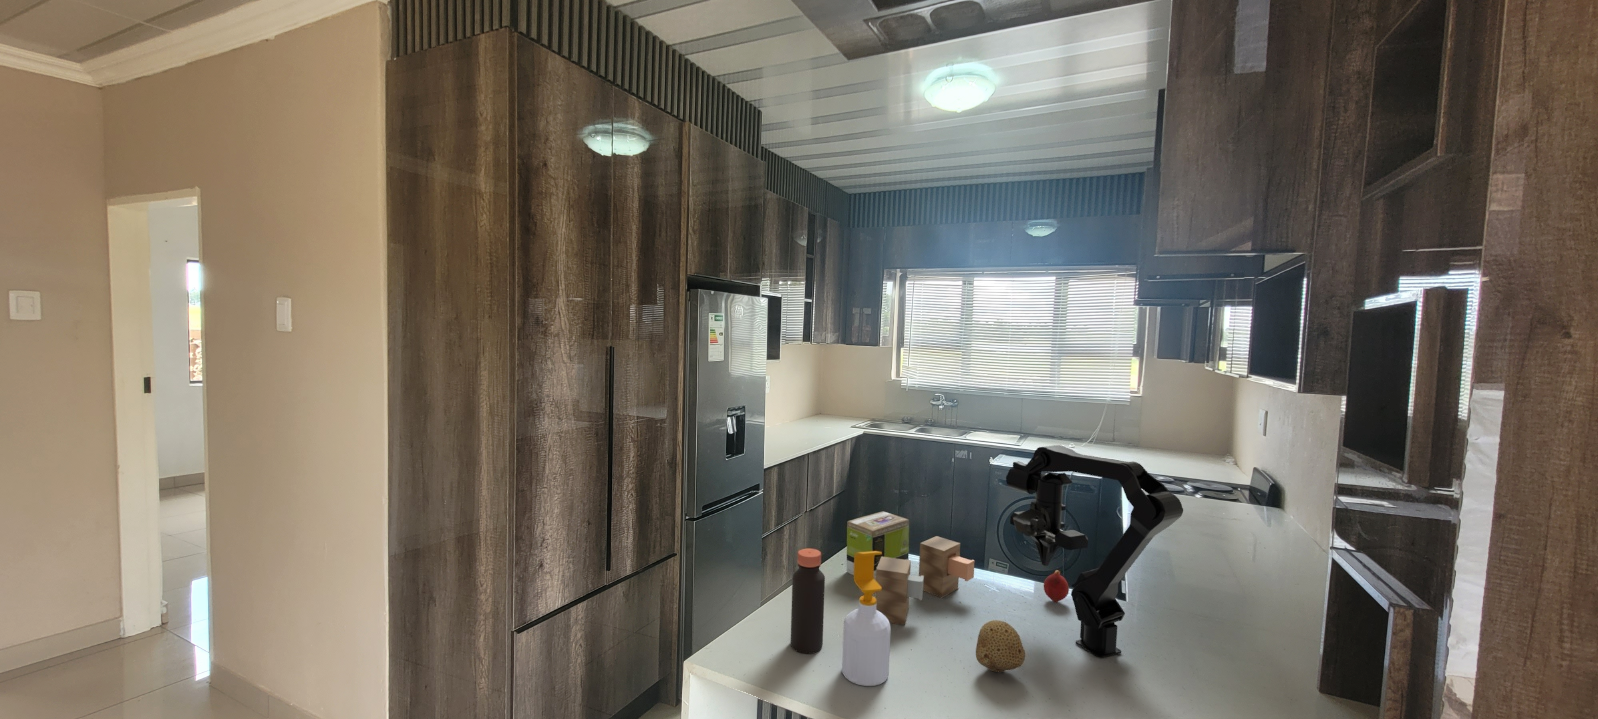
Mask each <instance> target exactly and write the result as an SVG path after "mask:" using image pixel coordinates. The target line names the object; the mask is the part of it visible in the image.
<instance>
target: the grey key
mask: <svg viewBox="0 0 1598 719" xmlns="http://www.w3.org/2000/svg"><path fill="white" fill-rule="evenodd" d="M923 583H924V576H922V575H921V576H919V575H913V574H910V575H909V576H908V585H907V597H909V598H911V599H918V600H919V601H922V600H923V595H924V591H923Z"/></svg>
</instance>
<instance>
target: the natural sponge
mask: <svg viewBox="0 0 1598 719" xmlns="http://www.w3.org/2000/svg"><path fill="white" fill-rule="evenodd" d="M978 633H979V634H978V636H977V642H976V647H975V658H976V660H977V662H978V663H979V664H980V665H981V666H982V667H985V668H986V669H989V670H990V671H991V672H995V673H1004V672H1006V671H1012V670H1015V669H1018V668H1020V667H1022V665H1023V664H1024V662H1025V661H1026V651H1025V648H1024V646H1023V643H1022V640H1021V637H1020V635H1019V633H1018V631H1017V630H1016V628H1014V627H1013V626H1011V624H1010V623H1008V622H1006V621H1002V620H997V619H995V620H990V621H987V622H985V623H984V624H983V625H982V626H981V628H980V630H979V632H978Z"/></svg>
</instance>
